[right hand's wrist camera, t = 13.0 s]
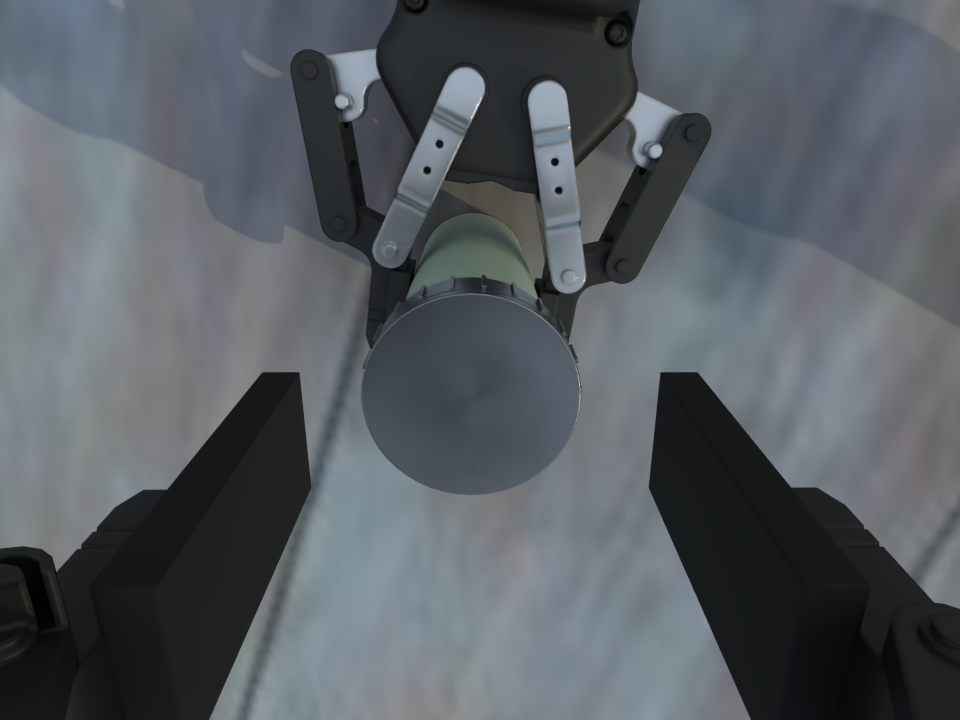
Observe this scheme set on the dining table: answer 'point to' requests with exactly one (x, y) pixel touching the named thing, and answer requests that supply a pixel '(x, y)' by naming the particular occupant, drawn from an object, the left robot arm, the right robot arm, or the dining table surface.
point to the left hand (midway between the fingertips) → (463, 367)
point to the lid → (471, 386)
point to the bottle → (472, 253)
